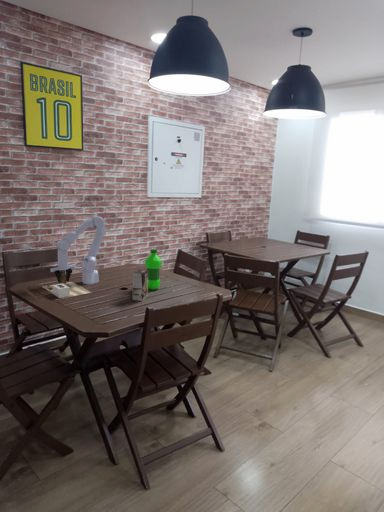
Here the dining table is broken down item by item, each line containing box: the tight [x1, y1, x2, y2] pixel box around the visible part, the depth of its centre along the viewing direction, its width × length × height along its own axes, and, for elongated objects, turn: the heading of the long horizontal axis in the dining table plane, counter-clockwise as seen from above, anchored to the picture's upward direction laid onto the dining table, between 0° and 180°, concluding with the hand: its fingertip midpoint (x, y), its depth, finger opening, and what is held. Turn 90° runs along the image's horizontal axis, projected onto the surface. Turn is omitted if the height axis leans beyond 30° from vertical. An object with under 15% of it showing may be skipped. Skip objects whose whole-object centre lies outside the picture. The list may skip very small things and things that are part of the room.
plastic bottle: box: [144, 248, 162, 291], centre depth 228 cm, size 10×10×25 cm
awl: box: [60, 273, 67, 284], centre depth 223 cm, size 3×3×6 cm
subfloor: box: [42, 281, 93, 299], centre depth 216 cm, size 19×26×1 cm
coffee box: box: [132, 268, 149, 302], centre depth 210 cm, size 9×6×16 cm
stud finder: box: [51, 283, 70, 299], centre depth 205 cm, size 6×9×6 cm, turn 42°
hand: (63, 281), depth 223 cm, fingers open, 5 cm apart
